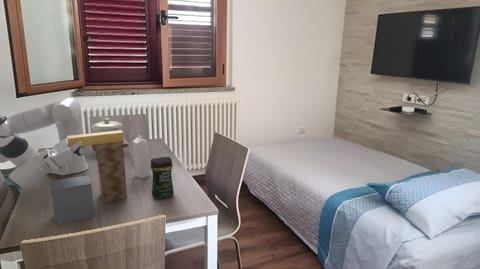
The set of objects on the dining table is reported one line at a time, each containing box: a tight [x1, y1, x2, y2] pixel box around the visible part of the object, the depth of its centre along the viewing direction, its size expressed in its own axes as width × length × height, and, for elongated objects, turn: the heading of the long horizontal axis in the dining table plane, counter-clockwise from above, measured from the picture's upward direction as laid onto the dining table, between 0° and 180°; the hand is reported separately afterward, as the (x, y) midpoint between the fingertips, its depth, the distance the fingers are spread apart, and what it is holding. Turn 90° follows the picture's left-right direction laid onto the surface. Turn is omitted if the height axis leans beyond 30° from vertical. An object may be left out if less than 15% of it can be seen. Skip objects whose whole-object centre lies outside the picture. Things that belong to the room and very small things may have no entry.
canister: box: [91, 117, 123, 133], centre depth 224 cm, size 18×18×21 cm
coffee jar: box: [150, 155, 175, 200], centre depth 157 cm, size 10×8×19 cm
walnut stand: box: [90, 138, 130, 203], centre depth 156 cm, size 14×14×26 cm
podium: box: [50, 174, 96, 225], centre depth 139 cm, size 14×10×14 cm
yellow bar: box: [67, 129, 125, 147], centre depth 150 cm, size 22×4×4 cm, turn 118°
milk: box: [132, 134, 151, 179], centre depth 181 cm, size 6×6×22 cm
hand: (80, 139), depth 147 cm, fingers open, 8 cm apart
